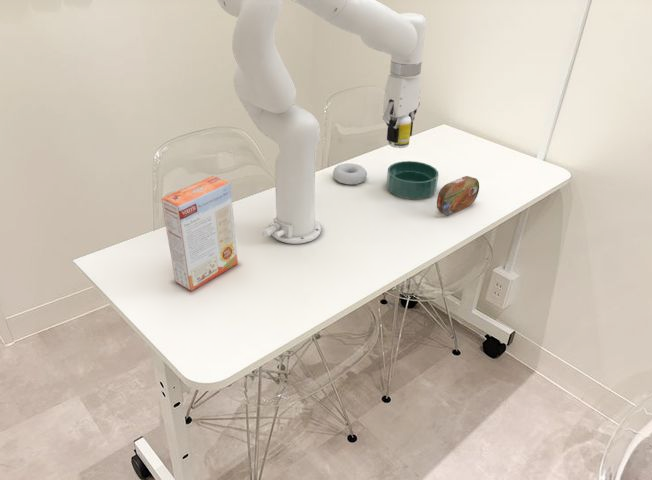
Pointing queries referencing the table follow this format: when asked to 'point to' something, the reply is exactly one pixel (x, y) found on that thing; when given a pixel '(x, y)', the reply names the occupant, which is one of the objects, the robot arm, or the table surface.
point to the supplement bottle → (403, 132)
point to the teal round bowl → (412, 179)
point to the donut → (349, 173)
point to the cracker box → (200, 231)
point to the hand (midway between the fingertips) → (399, 137)
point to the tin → (457, 195)
